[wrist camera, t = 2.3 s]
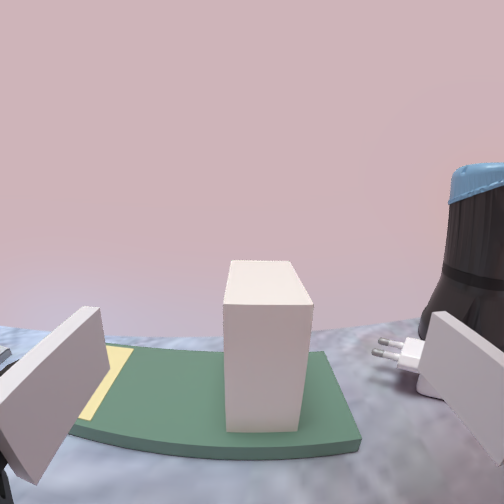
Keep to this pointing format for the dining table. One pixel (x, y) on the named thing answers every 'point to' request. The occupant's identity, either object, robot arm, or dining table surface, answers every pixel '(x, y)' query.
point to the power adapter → (408, 360)
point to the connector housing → (265, 346)
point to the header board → (206, 409)
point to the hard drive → (4, 353)
